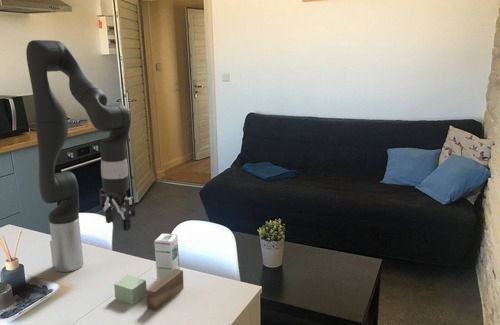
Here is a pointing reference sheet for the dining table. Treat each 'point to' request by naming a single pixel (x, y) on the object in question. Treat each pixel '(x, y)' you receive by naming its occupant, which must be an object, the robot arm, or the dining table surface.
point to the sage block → (130, 289)
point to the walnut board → (164, 289)
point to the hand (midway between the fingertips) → (118, 226)
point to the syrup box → (166, 254)
